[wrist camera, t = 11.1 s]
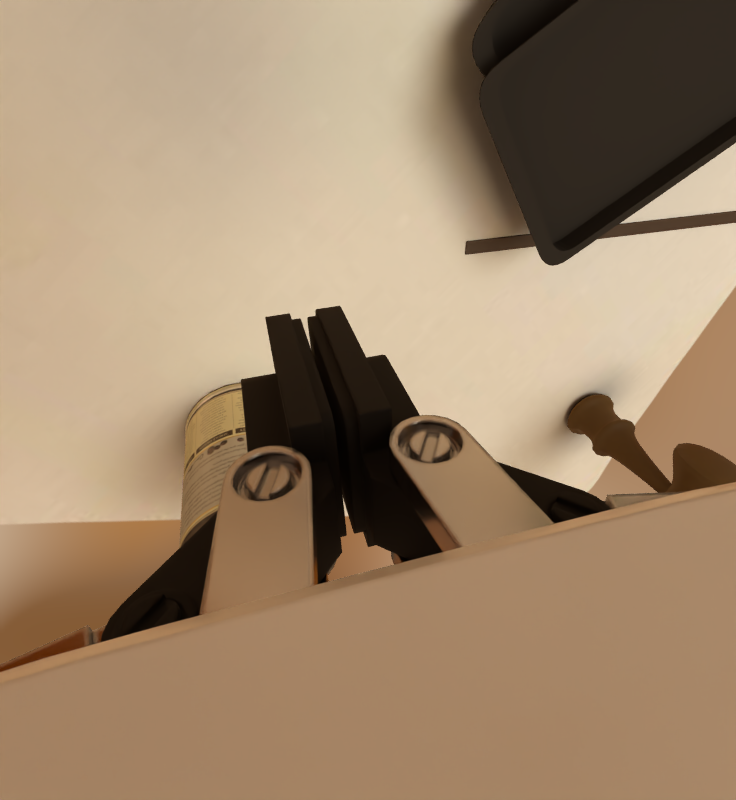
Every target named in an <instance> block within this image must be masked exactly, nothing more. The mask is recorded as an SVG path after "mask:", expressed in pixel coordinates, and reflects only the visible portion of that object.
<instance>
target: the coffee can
mask: <svg viewBox="0 0 736 800" xmlns="http://www.w3.org/2000/svg"><path fill="white" fill-rule="evenodd" d="M185 439H186V443H185V460H184V477H183V493H182V511H181V527H180V546H179V548H180V547H181V546H182V545H183V544H185V543H186V542H187V541H188V540H189V539H190V538H191V537H192V536H193V535H194V534H195V533H196V532H197V531H198V530H199V529H200V528H201V527H202V526H203V525H204V524H205V523H206V522H207V521H208V520H209V519H210V518H211V517H212V516H213V515H214V514H215V513H217V512H218V506H219V501H220V495H221V489H222V484H223V479H224V477H225V474H226V471H227V469H228V468H229V467H230V466H231V465H232V463H233V462H234V461H235V460H237V459H238V458H239V457H241V456H242V455H244V454H245V453H247V452H248V451H247V440H246V430H245V419H244V409H243V398H242V388H241V383H239V384H233V385H228V386H225V387H222V388H220V389H218V390H216V391H213V392H211V393H210V394H208V395H207V396H205V397H204V398H203V399H202V400H201V401H199V402H198V403H197V405H196V406H195V407H194V408H193V410H192V411H191V413H190V414H189V416H188V420H187V422H186V427H185ZM335 562H336V561H335ZM334 565H335V563H334V564H333V565H332V567H331V568H330V570H329V571H328V572H327V575H329V573H330V571H331V570H332V569H333V567H334Z"/></svg>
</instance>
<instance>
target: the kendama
mask: <svg viewBox="0 0 736 800" xmlns="http://www.w3.org/2000/svg"><path fill="white" fill-rule="evenodd" d="M567 427H568V428H569V429H570V430H571V431H572V432H573V433H577V434H585V435H586V436H587V437H589V438H590V440H591V441H592V444H593V447H592V449H593V451H594V452H595V453H596V454H597V455H601V456H610V457H612V458H614V459H615V460H617V461H618V462H620V463H621V464H623V465H624V466H625V467H627V468H628V469H629V470H631V471H632V472H633V473H635V474H636V475H638V477H640V478H641V479H642V480H643V481H645V482H646V483H647V484H648V485H650V486H651V487H652V488H653V489H654V490H656V491H657V492H658V493H667V492H688V491H692V490H697V489H702V488H707V487H713V486H718V485H723V484H729V483H734V482H736V465H735V464H734V463H732V462H731V461H729V460H728V459H726V458H725V457H723V456H721V455H720V454H718V453H716V452H714V451H712V450H710V449H708V448H705V447H702V446H700V445H695V444H690V443H683V444H678V445H677V446H676V448H675V449H674V451H673V481H672V484H671V483H670V482H669V480H668V479H667V478H666V477H665V476H664V475H663V473H662V472H661V471H660V470H659V469H658V467H657V466H656V465H655V464H654V463H653V461H652V460H651V459H650V458H649V456H648V455H647V454H646V452H645V451H644V450H643V448H642V447H641V446H640V444H639V443H638V441H637V439H636V437H635V435H634V431H635V426H634V424H633V423H632V422H631V421H628V420H625V419H623V420H621V419H620V418H619V417H618V416H617V415H616V414H615V412H614V410H613V402H612V400H611V399H610V398H609V397H608V396H605V395H602V394H598V395H591V396H589V397H586V398H584V399H583V400H581V401H580V402H579V403H577V404H576V406H575V407H574V408H573V409H572V410H571V413H570V415H569V417H568V423H567Z"/></svg>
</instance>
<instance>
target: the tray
mask: <svg viewBox="0 0 736 800" xmlns="http://www.w3.org/2000/svg"><path fill="white" fill-rule="evenodd" d="M472 51H473V57H474V60H475V63H476V65H477V67H478V68H479V70H480V71H481V73H482V74H483V75H484V77H485V79H484V81H483V83H482V85H481V89H480V97H479V100H480V107H481V110H482V113H483V116H484V119H485V121H486V124H487V126H488V129H489V131H490V134H491V136H492V139H493V141H494V143H495V146H496V148H497V151H498V153H499V156H500V158H501V161H502V163H503V166H504V168H505V171H506V173H507V176H508V178H509V181H510V183H511V186H512V188H513V191H514V193H515V196H516V198H517V201H518V203H519V206H520V208H521V210H522V213H523V215H524V218H525V220H526V223H527V225H528V228H529V230H530V233H531V235H532V238H533V240H534V243H535V245H536V248H537V250H538V253H539V255H540V257H541V259H542V260H543V261H544V262H545V263H546V264H548V265H558V264H560V263H563V262H564V261H566V260H568V259H569V258H571V257H572V256H573V255H575V254H576V253H578V252H579V251H581V250H582V249H584V248H585V247H586V246H588V245H589V244H591V243H592V242H594V241H595V240H596V239H598V238H599V237H601V236H602V235H604V234H605V233H607V232H608V231H609V230H611V229H612V228H614V227H615V226H617V225H618V224H620V223H621V222H622V221H624V220H625V219H627V218H628V217H630V216H631V215H632V214H634V213H635V212H637V211H638V210H640V209H641V208H643V207H644V206H645V205H647V204H648V203H650V202H651V201H653V200H654V199H655V198H657V197H658V196H660V195H661V194H663V193H664V192H666V191H667V190H668V189H670V188H671V187H673V186H674V185H676V184H677V183H678V182H680V181H681V180H683V179H684V178H686V177H687V176H689V175H690V174H691V173H693V172H694V171H696V170H697V169H699V168H700V167H701V166H703V165H704V164H706V163H707V162H709V161H710V160H712V159H713V158H714V157H716V156H717V155H719V154H720V153H722V152H723V151H724V150H726V149H727V148H729V147H730V146H732V145H733V144H735V143H736V0H496V1H495V2H494V4H493V5H492V6H491V7H490V9H489V10H488V12H487V13H486V15H485V16H484V18H483V20H482V21H481V23H480V24H479V26H478V28H477V30H476V32H475V35H474V39H473V45H472Z"/></svg>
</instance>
